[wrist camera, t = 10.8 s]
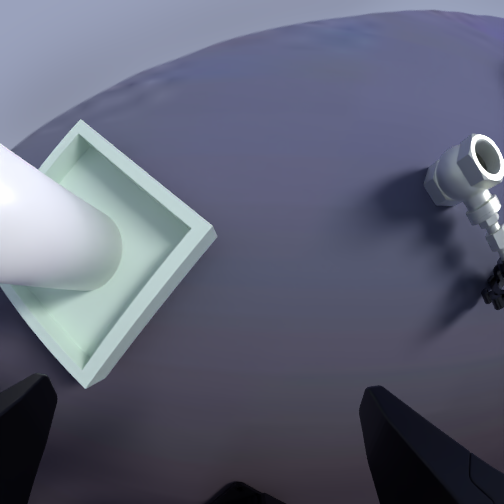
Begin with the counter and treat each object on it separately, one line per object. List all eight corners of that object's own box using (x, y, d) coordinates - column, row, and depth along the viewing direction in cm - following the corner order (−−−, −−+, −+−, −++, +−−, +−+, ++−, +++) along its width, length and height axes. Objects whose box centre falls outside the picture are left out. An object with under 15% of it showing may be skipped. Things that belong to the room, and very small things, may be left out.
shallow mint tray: (113, 373, 20) (85, 388, 15) (17, 264, 21) (-19, 257, 16) (219, 241, 21) (212, 226, 17) (104, 146, 22) (80, 119, 18)
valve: (401, 182, 22) (471, 310, 21) (446, 147, 16) (527, 310, 14) (448, 151, 23) (510, 266, 22) (490, 117, 16) (561, 256, 15)
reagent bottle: (107, 303, 18) (-89, 297, 4) (46, 274, 18) (-130, 238, 4) (133, 222, 19) (-25, 101, 5) (70, 201, 19) (-82, 101, 5)
